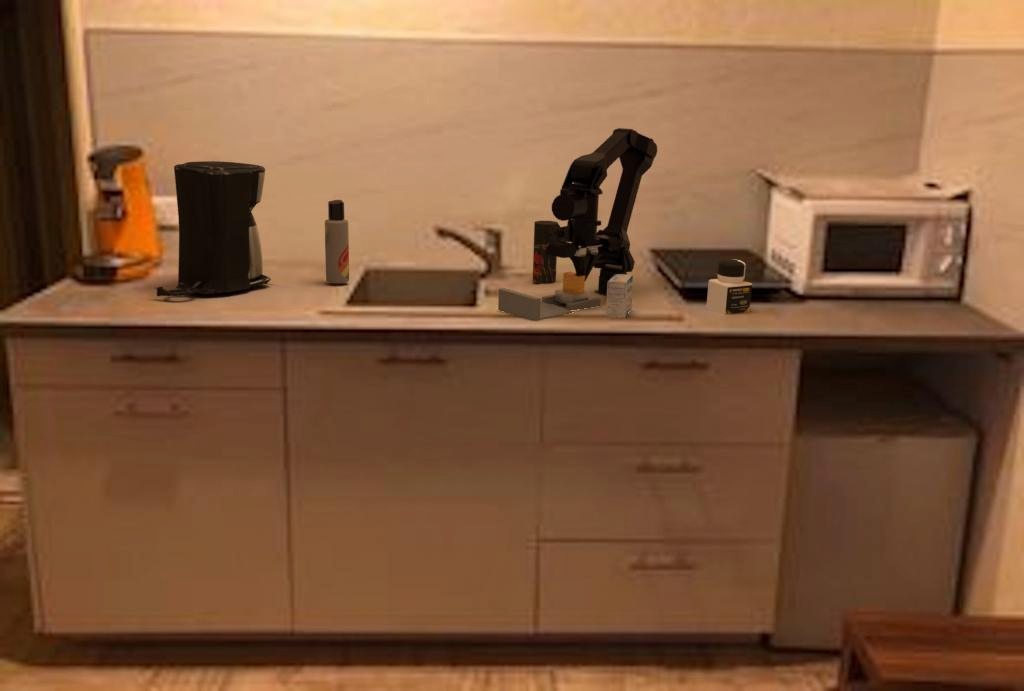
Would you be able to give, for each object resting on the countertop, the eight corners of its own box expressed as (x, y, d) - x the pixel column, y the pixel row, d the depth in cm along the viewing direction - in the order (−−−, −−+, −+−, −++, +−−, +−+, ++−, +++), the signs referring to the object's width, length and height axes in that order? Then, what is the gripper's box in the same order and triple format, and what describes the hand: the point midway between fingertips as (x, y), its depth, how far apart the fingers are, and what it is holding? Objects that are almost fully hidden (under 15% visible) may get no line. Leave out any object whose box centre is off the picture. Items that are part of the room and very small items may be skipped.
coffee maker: (281, 278, 254) (276, 160, 246) (230, 304, 227) (224, 172, 219) (207, 272, 257) (201, 156, 249) (150, 297, 231) (140, 168, 223)
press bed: (568, 298, 242) (569, 276, 240) (605, 308, 233) (606, 286, 232) (498, 311, 228) (498, 288, 226) (534, 322, 219) (535, 299, 217)
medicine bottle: (725, 316, 229) (730, 264, 226) (705, 309, 235) (709, 258, 232) (750, 313, 232) (755, 262, 229) (729, 306, 238) (734, 256, 235)
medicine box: (625, 320, 223) (627, 282, 221) (605, 318, 224) (607, 280, 222) (631, 312, 231) (633, 274, 228) (611, 310, 232) (613, 273, 229)
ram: (570, 297, 238) (571, 270, 236) (588, 302, 233) (589, 275, 231) (554, 300, 234) (555, 273, 233) (572, 305, 230) (574, 278, 228)
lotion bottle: (354, 280, 253) (352, 200, 247) (338, 284, 248) (337, 203, 243) (336, 277, 256) (335, 198, 250) (321, 281, 251) (319, 200, 246)
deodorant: (558, 283, 257) (561, 224, 253) (535, 283, 255) (537, 224, 251) (552, 278, 262) (554, 220, 258) (529, 278, 261) (531, 220, 257)
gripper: (588, 207, 242) (585, 272, 246) (530, 214, 230) (528, 281, 234) (623, 214, 234) (619, 280, 238) (565, 221, 222) (562, 290, 226)
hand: (581, 283), depth 235 cm, fingers closed
